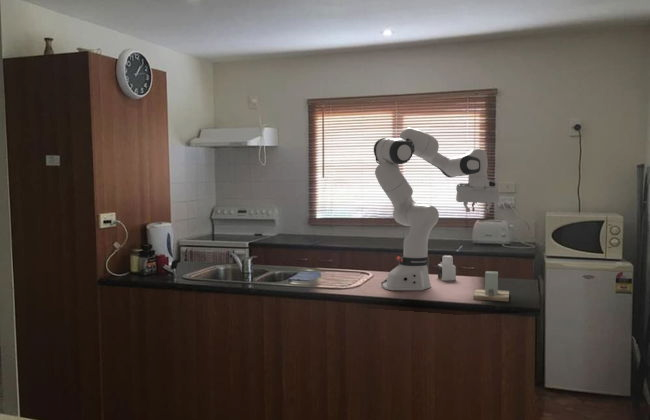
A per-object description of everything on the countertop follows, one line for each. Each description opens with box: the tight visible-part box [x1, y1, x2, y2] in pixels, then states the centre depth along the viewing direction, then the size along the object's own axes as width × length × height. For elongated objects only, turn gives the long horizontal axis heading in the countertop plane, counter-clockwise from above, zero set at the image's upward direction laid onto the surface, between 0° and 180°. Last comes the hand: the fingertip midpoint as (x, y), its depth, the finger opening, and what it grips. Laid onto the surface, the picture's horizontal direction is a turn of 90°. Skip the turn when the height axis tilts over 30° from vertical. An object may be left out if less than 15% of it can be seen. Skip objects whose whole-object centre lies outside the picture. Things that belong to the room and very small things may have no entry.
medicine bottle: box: [437, 254, 457, 282], centre depth 278 cm, size 7×7×12 cm
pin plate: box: [473, 288, 510, 302], centre depth 238 cm, size 14×14×4 cm
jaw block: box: [484, 270, 499, 295], centre depth 238 cm, size 5×5×9 cm
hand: (477, 212), depth 269 cm, fingers open, 8 cm apart
